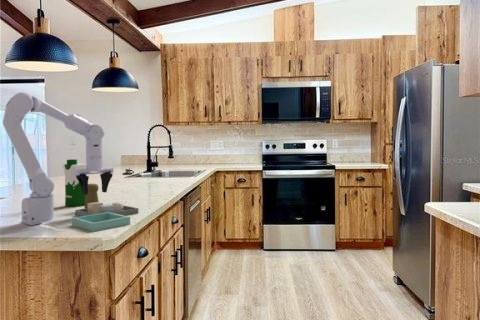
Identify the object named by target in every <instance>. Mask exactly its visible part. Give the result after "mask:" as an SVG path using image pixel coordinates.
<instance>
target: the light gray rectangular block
mask: <svg viewBox="0 0 480 320" xmlns="http://www.w3.org/2000/svg"><path fill="white" fill-rule="evenodd" d="M106 212H115V205H112V204H109V203H108V204H103V205H100V206H99V214H100V213H106Z"/></svg>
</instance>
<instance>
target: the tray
mask: <svg viewBox="0 0 480 320" xmlns="http://www.w3.org/2000/svg"><path fill="white" fill-rule="evenodd" d="M74 213H75V216H76V217H81V216H87V215H94V214H92V213H88V208H85V209H84V208H81V209H75V211H74ZM110 213H115V214H119V215H124V216H130V215H136V214H137V215H138V214H139V208H138V207H134V206H127V205H124V204H123V210H122V211H116V212H110Z"/></svg>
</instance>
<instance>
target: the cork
mask: <svg viewBox="0 0 480 320" xmlns="http://www.w3.org/2000/svg"><path fill="white" fill-rule="evenodd" d="M98 191H99V185H98V184H97V183H88V194H87V195H86V199H85V206H83V207H84V208H83V209H85V208H88V203H94V202H99V196H98Z"/></svg>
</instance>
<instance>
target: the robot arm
mask: <svg viewBox="0 0 480 320" xmlns="http://www.w3.org/2000/svg"><path fill="white" fill-rule="evenodd" d="M29 112H30V113H42V114H44V115H47V116H49V117H50V118H53V119H55V120H57V121H59V122H61V123H63V124H64V127H65V128H66V129H68V130H70V131H72V132H74V133H76V134H78V135H80V136H83V137H84V138H85V164H86V169H79V170H74V175H76V178H77V180H78V181H79V183H80V185H81V188H82V192H83V194H85V195H87V194H88V184H89V178H90V176H89V175H95V174H96V175H97V174H99V176H100V180H101V192H102V193H107V191H108V187H109V183H110V181H111V180H112V178H113V175H114V174H113V173H114V167H103V166H104V165H103V138H104V136H105V132H104V130H103V127H102V126H100V125H99V124H93V121H91V120H87V119H85V118H83V117H81V114H79V113H76V114H75V113H71V114H68V113H65V112H64V111H62V110H60V109H58V108H57V107H55V106H53V105H51V104H50V103H48V102H46V101H44V100H43V99H41V98H39V97H36V96H33V95H30V94H28V93H27V92H17V93H15V94H14V95H13V96H12V97H10V99H9V101H7V102H6V105H5V109H4V115H3V118H2V125H3V127H4V129H5V130H4V131H6V133H7V136H8V137H9V140H10V142H11V143H12V146H13V148H14V149H15V151H16V154H17V156H18V158H19V159H20V162H21V164H22V167H23V168H24V170H25V172H26V175H27V178H28V181H29V184H28V185H29V189H30V191H31V193H30V194H29V196H28V197H24V198H23V199H22V201H21V221H20V222H21V223H23V224H26V225H28V226H33V225H39V224H42V223H47V222H53V221H59V219H58V218H55V210H54V207H55V205H54V204H55V203H54V193H53V192H54V189H55V184H54V181H52V179H50V178H49V177H48V176H47V175H46V172H45V171H44V169H43V168H42V167H41V164H40V161H39V159H38V158H37V156H36V154H35V151H34V150H33V147H32V146H31V143H30V141H29V139H28V137H27V135H26V133H25V131H24V129H23V126H22V123H23V120H24V119H25V116H26V115H27V114H28V113H29ZM86 174H88V176H87V175H86Z"/></svg>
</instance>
